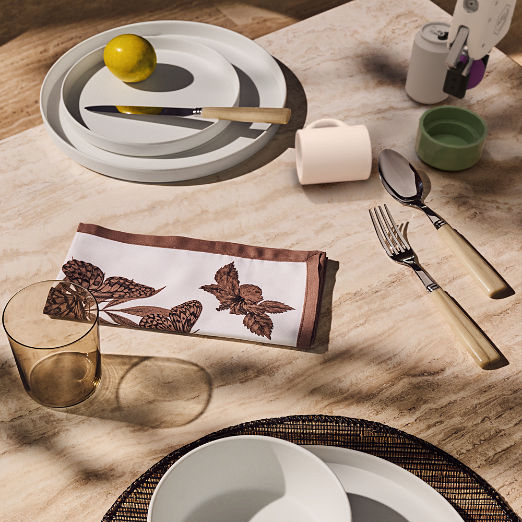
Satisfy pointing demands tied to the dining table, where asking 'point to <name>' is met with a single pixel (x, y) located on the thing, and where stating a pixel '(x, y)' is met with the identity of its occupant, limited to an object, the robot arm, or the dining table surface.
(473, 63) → the ball
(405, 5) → the dining table surface
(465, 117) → the bowl
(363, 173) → the mug
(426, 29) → the can
